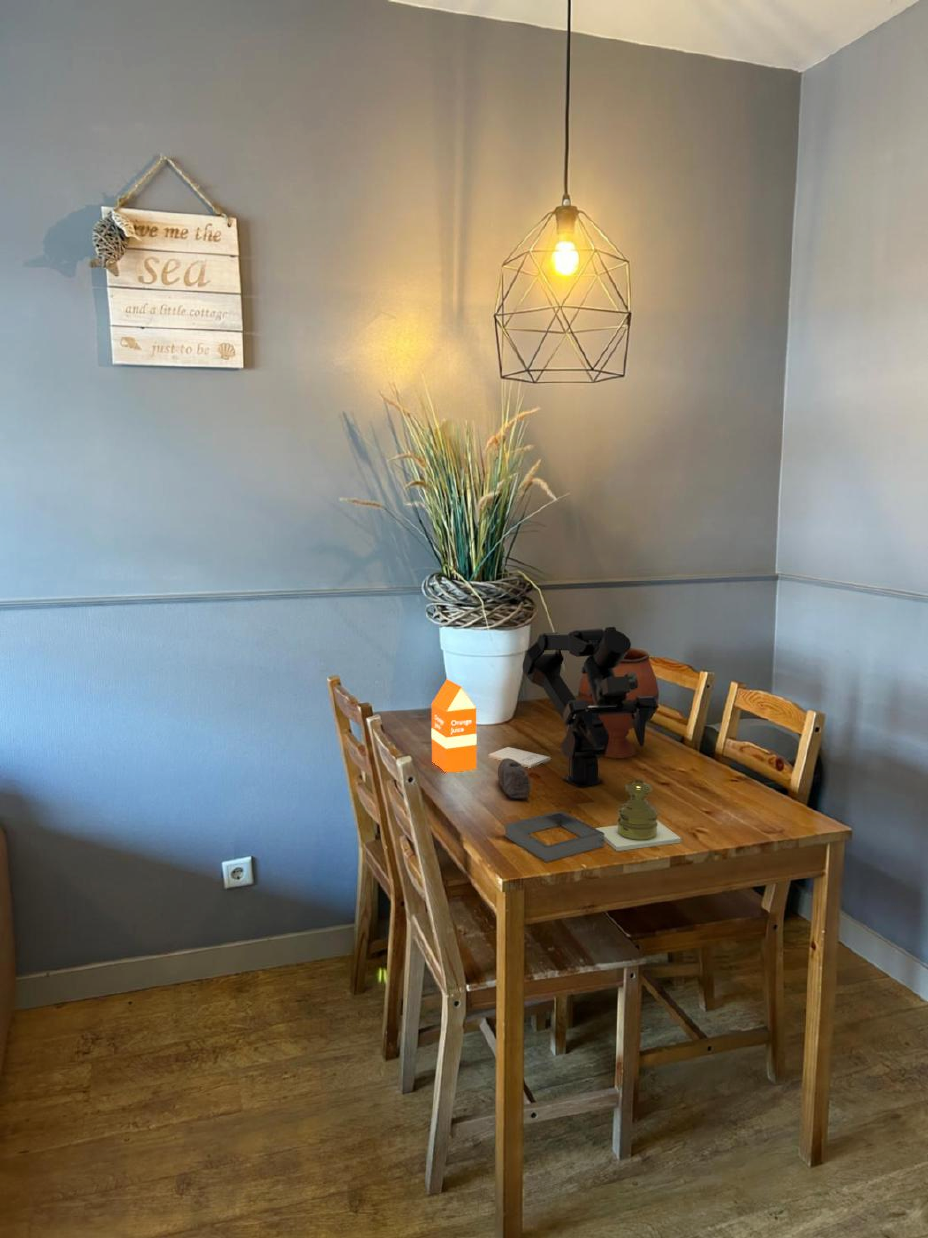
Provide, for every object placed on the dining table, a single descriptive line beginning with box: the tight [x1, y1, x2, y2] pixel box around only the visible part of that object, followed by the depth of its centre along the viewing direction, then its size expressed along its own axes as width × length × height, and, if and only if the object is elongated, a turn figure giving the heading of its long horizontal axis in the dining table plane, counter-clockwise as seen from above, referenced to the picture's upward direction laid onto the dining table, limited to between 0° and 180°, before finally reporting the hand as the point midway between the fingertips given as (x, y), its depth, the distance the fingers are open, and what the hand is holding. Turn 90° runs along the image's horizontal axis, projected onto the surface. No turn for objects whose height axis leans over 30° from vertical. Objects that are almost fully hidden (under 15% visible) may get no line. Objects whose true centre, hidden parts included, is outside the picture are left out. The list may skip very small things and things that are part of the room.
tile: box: [594, 820, 682, 852], centre depth 165 cm, size 13×9×1 cm
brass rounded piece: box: [616, 779, 659, 840], centre depth 164 cm, size 7×7×10 cm
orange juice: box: [430, 678, 477, 774], centre depth 204 cm, size 8×9×20 cm
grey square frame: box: [504, 810, 605, 863], centre depth 163 cm, size 13×13×2 cm
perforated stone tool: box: [497, 758, 531, 799], centre depth 189 cm, size 15×5×7 cm, turn 10°
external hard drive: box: [488, 746, 551, 769], centre depth 211 cm, size 2×8×12 cm
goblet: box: [577, 647, 660, 759], centre depth 213 cm, size 19×19×25 cm
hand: (620, 747), depth 174 cm, fingers open, 9 cm apart
